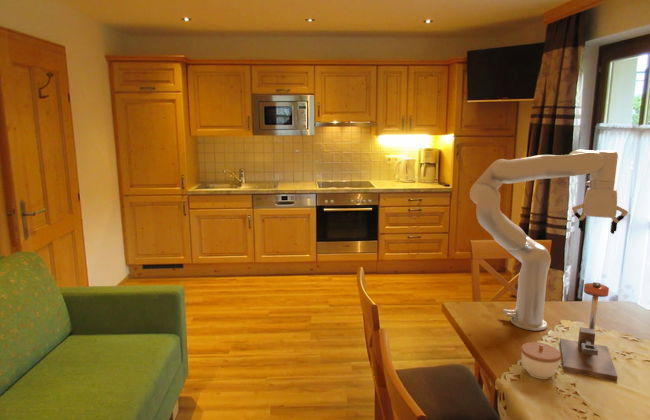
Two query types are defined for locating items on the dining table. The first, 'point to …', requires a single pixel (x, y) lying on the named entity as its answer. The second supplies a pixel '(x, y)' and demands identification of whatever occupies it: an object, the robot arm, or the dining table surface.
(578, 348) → the eye stand
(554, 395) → the dining table surface
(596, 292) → the orange knobbed disc
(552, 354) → the lidded jar
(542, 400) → the dining table surface
